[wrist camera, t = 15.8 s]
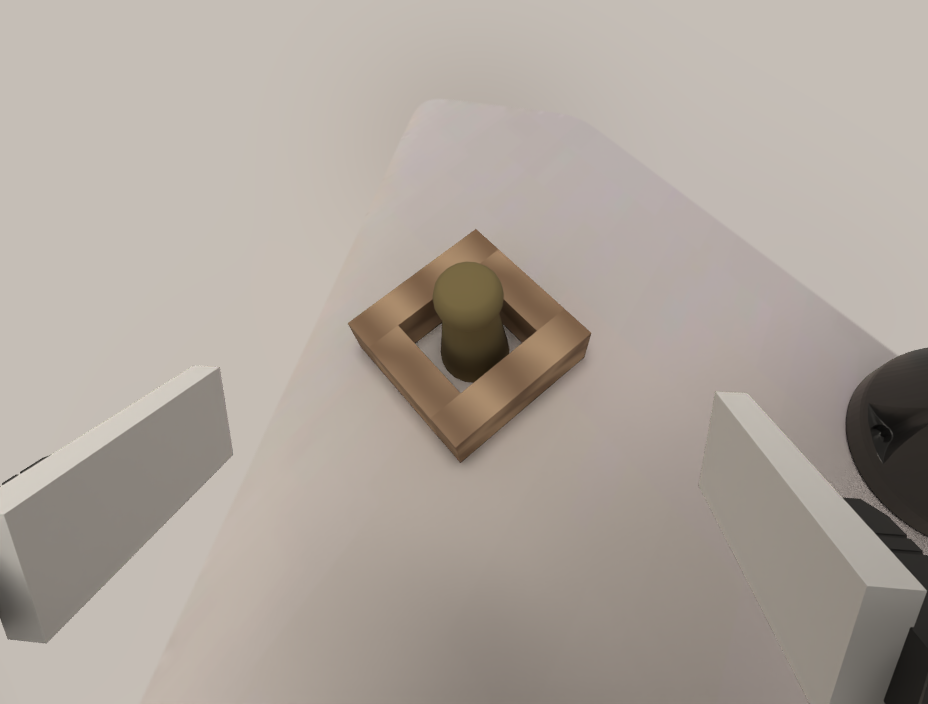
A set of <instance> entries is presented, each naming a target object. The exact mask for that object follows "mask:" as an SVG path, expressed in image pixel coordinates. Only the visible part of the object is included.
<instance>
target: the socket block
mask: <svg viewBox="0 0 928 704" xmlns="http://www.w3.org/2000/svg"><path fill="white" fill-rule="evenodd" d="M461 262H477V263H479V264H482V265H485V266H487V267H488V268H490V269H491V270H492V271H494V272H495V274H496V275H497V277H498V278H499V280H500V281H501V283H502V287H503V292H504V299H503V306H502V309H501V310H500V312H499V315H500V318H501V321H502V323H503V324H504V325H505V326H506V327H507V328H508V329H509V330H510V331H511V332H512V333H513V334H514V335H515V336H516V337H517V338H518V339H519V340H520V341H521V342H522V344H521V345H519V346H518V347H517V348H516V349H514V350H513V351H512V352H511V353H510V354H508V355H507V356H506V357H505V358H503V359H502V360H501V361H500V362H499V363H497V364H496V365H495V366H494V367H492V368H491V369H490V370H489V371H488V372H486V373H485V374H484V375H483V376H481V377H480V378H479V379H478V380H477V381H475V382H474V383H473V384H472V385H470V386H469V387H468V388H467V389H466V390H464V391H463V392H462V393H460V392H459V391H458V390H457V389H456V388H455V387H454V386H453V385H452V384H451V382H450V381H449V380H448V379H447V378H446V377H445V376H444V375H443V374H442V373H441V372H440V371H439V369H438V368H437V367H436V366H435V365H434V364H433V363H432V362H431V361H430V360H429V359H428V357H427V356H426V355H425V354H424V353H423V352H422V351H421V350H420V349H419V348H418V347H417V345H416V344H415V343H416V342H417V341H418V340H420V339H421V338H422V337H424V336H425V335H426V334H427V333H429V332H430V331H431V330H433V329H434V328H435V327H437V326H438V325H439V324H440V323H442V320H441V319H440V317H439V316H438V314H437V312H436V311H435V308H434V303H433V297H432V296H433V291H434V286H435V282H436V281H437V279H438V277H439V276H440V274H442V273H443V272H444V271H445V270H446V269H447V268H449V267H450V266H452V265H455V264H457V263H461ZM348 325H349V326H350V328H351V330H352V332H353V334H354V335H355V337H356V339H357V341H358V343H359V344H360V346H361V348H362V349H363V350H364V351H365V352H366V353H367V355H368V356H369V357H370V358H371V359H372V360H373V362H374V363H375V364H376V365H377V366H378V367H379V368H380V370H381V371H382V372H383V373H384V374H385V375H386V377H387V378H388V379H389V380H390V381H391V382H392V384H393V385H394V386H395V387H396V388H397V389H398V391H399V392H400V393H401V394H402V395H403V396H404V398H405V399H406V400H407V401H408V402H409V403H410V405H411V406H412V407H413V408H414V409H415V410H416V412H417V413H418V414H419V415H420V416H421V417H422V418H423V420H424V421H425V422H426V423H427V424H428V425H429V427H430V428H431V429H432V430H433V431H434V432H435V434H436V435H437V436H438V437H439V438H440V439H441V441H442V442H443V443H444V444H445V445H446V446H447V448H448V449H449V450H450V451H451V452H452V453H453V455H454V456H455V457H456V458H457V459H458V460H459V462H460V463H461V462H462V461H463V460H464V459H465V458H467V457H468V456H469V455H470V454H471V453H473V452H474V451H475V450H476V449H477V448H478V447H480V446H481V445H482V444H483V443H484V442H485V441H487V440H488V439H489V438H490V437H491V436H492V435H494V434H495V433H496V432H497V431H498V430H499V429H501V428H502V427H503V426H504V425H505V424H506V423H508V422H509V421H510V420H511V419H512V418H513V417H515V416H516V415H517V414H518V413H519V412H520V411H522V410H523V409H524V408H525V407H526V406H528V405H529V404H530V403H531V402H532V401H533V400H535V399H536V398H537V397H538V396H539V395H540V394H542V393H543V392H544V391H545V390H546V389H547V388H549V387H550V386H551V385H552V384H553V383H554V382H556V381H557V380H558V379H559V378H560V377H561V376H563V375H564V374H565V373H566V372H567V371H568V370H570V369H571V368H572V367H573V366H574V365H575V364H577V363H578V362H579V361H580V360H581V359H582V358H584V356H585V353H586V349H587V346H588V343H589V339H590V336H591V332H590V331H588V330H587V329H586V328H585V327H584V326H583V325H582V324H581V323H580V322H578V321H577V320H576V319H575V318H574V317H573V316H572V315H571V314H570V313H568V312H567V311H566V310H565V309H564V308H563V307H562V306H561V305H560V304H558V303H557V302H556V301H555V300H554V299H553V298H552V297H551V296H550V295H548V294H547V293H546V292H545V291H544V290H543V289H542V288H541V287H540V286H538V285H537V284H536V283H535V282H534V281H533V280H532V279H531V278H530V277H529V276H527V275H526V274H525V273H524V272H523V271H522V270H521V269H520V268H519V267H517V266H516V265H515V264H514V263H513V262H512V261H511V260H510V259H509V258H507V257H506V256H505V255H504V254H503V253H502V252H501V251H500V250H499V249H497V248H496V247H495V246H494V245H493V244H492V243H491V242H490V241H489V240H487V239H486V238H485V237H484V236H483V235H482V234H481V233H480V232H479V231H477V230H476V229H475V230H474V231H473V232H471V233H470V234H469V235H467V236H466V237H464V238H463V239H462V240H460V241H459V242H458V243H456V244H455V245H454V246H452V247H451V248H449V249H448V250H447V251H445V252H444V253H443V254H441V255H440V256H439V257H437V258H436V259H435V260H433V261H432V262H430V263H429V264H428V265H426V266H425V267H424V268H422V269H421V270H420V271H418V272H417V273H415V274H414V275H413V276H411V277H410V278H409V279H407V280H406V281H405V282H403V283H402V284H401V285H399V286H398V287H396V288H395V289H394V290H392V291H391V292H390V293H388V294H387V295H386V296H384V297H383V298H382V299H380V300H379V301H377V302H376V303H375V304H373V305H372V306H371V307H369V308H368V309H367V310H365V311H364V312H362V313H361V314H360V315H358V316H357V317H356V318H354V319H353V320H352V321H350V322H349V323H348Z"/></svg>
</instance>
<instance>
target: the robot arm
mask: <svg viewBox="0 0 928 704" xmlns="http://www.w3.org/2000/svg"><path fill="white" fill-rule="evenodd" d="M846 427H847V437H848V442H849V447H850V450H851V453H852V456H853V459H854V461H855V463H856V465H857V468H858V469H859V471H860V473H861V475H862V477H863V478H864V480H865V481H866V483H867V484H868V486H869V487H870V488H871V490H872V491H873V492H874V493H875V495H876V496H877V497H878V498H879V499H880V500H881V501H882V503H883V504H885V505H886V506H887V507H888V508H889V509H890V510H891V511H892V512H893V513H894V514H895V515H896V516H898V517H899V518H900V519H902V520H903V521H904V522H906V523H907V524H908V525H910V526H911V527H913V528H914V529H916V530H918V531H919V532H921V533H923V534H925V535H926V536H928V348H923V349H919V350H915V351H911V352H908V353H905V354H903V355H900V356H898V357H896V358H894V359H892V360H890V361H889V362H887V363H886V364H884V365H883V366H881V367H880V368H878V369H877V370H875V371H874V372H872V373H871V374H870V375H868V376H867V377H866V378H865V379H864V380H863V381H862V382H861V383H860V385H859V386H858V387H857V389H856V390H855V392H854V394H853V396H852V398H851V401H850V404H849V407H848V412H847V422H846ZM232 455H233V450H232V444H231V437H230V430H229V424H228V418H227V411H226V405H225V398H224V392H223V385H222V380H221V372H220V367H211V366H192V367H191V368H189V369H187V370H186V371H184V372H182V373H181V374H179V375H178V376H176V377H174V378H173V379H171V380H170V381H168V382H167V383H165V384H163V385H162V386H160V387H159V388H157V389H155V390H154V391H152V392H151V393H149V394H147V395H146V396H144V397H143V398H141V399H139V400H138V401H136V402H135V403H133V404H131V405H130V406H128V407H127V408H125V409H124V410H122V411H120V412H119V413H117V414H116V415H114V416H112V417H111V418H109V419H107V420H106V421H104V422H103V423H101V424H100V425H98V426H96V427H95V428H93V429H92V430H90V431H88V432H87V433H85V434H84V435H82V436H80V437H79V438H77V439H76V440H74V441H72V442H71V443H69V444H68V445H66V446H65V447H63V448H61V449H60V450H58V451H57V452H55V453H53V454H51V455H49V456H47V457H44V458H42V459H40V460H39V461H37V462H35V463H34V464H32V465H31V466H29V467H27V468H26V469H24V470H23V471H21V472H20V475H15V476H13V477H11V478H10V479H8V480H7V481H5V482H4V483H2V486H0V619H1V622H2V625H3V627H4V630H5V632H6V636H7V638H8V639H10V640H19V641H29V642H38V643H47V642H48V641H49V640H50V639H51V638H52V637H53V636H54V635H55V634H56V633H57V632H58V631H59V630H60V629H61V628H62V627H63V626H64V625H65V624H66V623H67V622H68V621H69V620H70V619H71V618H72V617H73V616H74V615H75V614H76V613H77V612H78V611H79V610H80V609H81V608H82V607H83V606H84V605H85V604H86V603H87V602H88V601H89V600H90V599H91V598H92V597H93V596H94V595H95V594H96V593H97V592H98V591H99V590H100V589H101V588H102V587H103V586H104V585H105V584H106V583H107V582H108V581H109V580H110V579H111V578H112V577H113V576H114V575H115V574H116V573H117V572H118V571H119V570H120V569H121V568H122V567H123V566H124V564H126V563H127V562H128V561H129V559H130V558H131V557H132V556H133V555H134V554H135V553H136V552H137V551H138V550H139V549H140V548H141V547H142V546H143V545H144V544H145V543H146V542H147V541H148V540H149V539H150V538H151V537H152V536H153V535H154V534H155V533H156V532H157V531H158V530H159V529H160V528H161V527H162V526H163V525H164V524H165V523H166V522H167V521H168V520H169V519H170V518H171V517H172V516H173V515H174V514H175V513H176V512H177V511H178V510H179V509H180V508H181V507H182V506H183V505H184V504H185V503H186V502H187V501H188V500H189V499H190V498H191V497H192V495H194V494H195V493H196V492H197V491H198V490H199V489H200V488H201V487H202V486H203V485H204V483H206V482H207V481H208V480H209V478H211V477H212V476H213V475H214V473H216V472H217V470H219V469H220V467H221V466H222V465H223V464H224V463H225V462H226V461H227V460H228V459H229V458H230V457H231V456H232ZM699 487H700V489H701V491H702V493H703V495H704V497H705V499H706V501H707V503H708V505H709V507H710V509H711V511H712V513H713V515H714V517H715V519H716V521H717V523H718V525H719V527H720V529H721V531H722V533H723V535H724V537H725V539H726V541H727V543H728V545H729V547H730V548H731V550H732V552H733V554H734V556H735V558H736V560H737V562H738V564H739V566H740V568H741V570H742V572H743V574H744V576H745V578H746V580H747V582H748V584H749V586H750V588H751V590H752V592H753V594H754V596H755V598H756V600H757V602H758V604H759V606H760V607H761V609H762V611H763V613H764V615H765V617H766V619H767V621H768V623H769V625H770V627H771V629H772V631H773V633H774V635H775V637H776V639H777V641H778V643H779V645H780V647H781V649H782V651H783V653H784V655H785V657H786V659H787V661H788V663H789V665H790V666H791V668H792V670H793V672H794V674H795V676H796V678H797V680H798V682H799V684H800V686H801V688H802V690H803V692H804V694H805V696H806V698H807V700H808V702H809V704H928V556H927V555H923V553H922V552H923V551H922V550H921V549H920V548H919V547H918V546H917V545H916V544H915V543H914V542H913V541H912V540H911V539H907V535H906V534H905V533H904V532H903V531H902V530H901V529H900V528H899V527H898V526H897V525H896V524H895V523H894V522H893V521H892V520H891V519H890V518H889V517H888V516H887V515H885V514H884V513H882V512H881V511H879V510H877V509H876V508H874V507H873V506H871V505H869V504H868V503H866V502H865V501H863V500H861V499H855V498H842V497H841V496H840V495H839V493H838V492H837V491H836V490H835V489H834V488H833V487H832V486H831V485H830V484H829V482H828V481H827V480H826V479H825V478H824V477H823V476H822V475H821V474H820V473H819V471H818V470H817V469H816V468H815V467H814V466H813V465H812V464H811V463H810V462H809V460H808V459H807V458H806V457H805V456H804V455H803V454H802V453H801V452H800V451H799V449H798V448H797V447H796V446H795V445H794V444H793V443H792V442H791V441H790V440H789V438H788V437H787V436H786V435H785V434H784V433H783V432H782V431H781V430H780V429H779V427H778V426H777V425H776V424H775V423H774V422H773V421H772V420H771V419H770V418H769V416H768V415H767V414H766V413H765V412H764V411H763V410H762V409H761V408H760V407H759V405H758V404H757V403H756V402H755V401H754V400H753V399H752V398H751V397H750V396H749V394H748V393H736V392H716V391H715V396H714V401H713V407H712V413H711V418H710V424H709V430H708V435H707V441H706V447H705V452H704V458H703V464H702V469H701V475H700V481H699Z"/></svg>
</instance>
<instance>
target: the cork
mask: <svg viewBox="0 0 928 704" xmlns="http://www.w3.org/2000/svg"><path fill="white" fill-rule="evenodd" d="M432 297H433V303H434V308H435V311H436V312H437V314H438V316H439V317H440V319H441V320H442V340H441V356H442V361H443V364H444V365H445V367H446V369H447V371H448V372H450V373H451V374H452V375H453V376H454V377H455V378H458V379H460V380H462V381H465V382H475V381H477V380H478V379H479V378H480V377H481V376H483V375H484V374H485V373H486V372H488V371H489V370H490V369H491V368H492V367H494V366H495V365H496V364H497V363H499V362H500V361H501V360H502V359H503V358H505V357H506V356H507V355H508V354H509V346H508V342H507V338H506V335H505V331H504V328H503V325H502V321H501V318H500V315H499V312H500V310H501V309H502V306H503V299H504V292H503V287H502V283H501V281H500V280H499V278H498V277H497V275H496V274H495V272H494V271H492V270H491V269H490V268H488V267H487V266H485V265H482V264H479V263H477V262H461V263H457V264H455V265H452V266H450V267H449V268H447V269H446V270H445V271H444V272H443V273H442V274H440V276H439V277H438V279H437V281H436V282H435V286H434V291H433V296H432Z"/></svg>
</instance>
